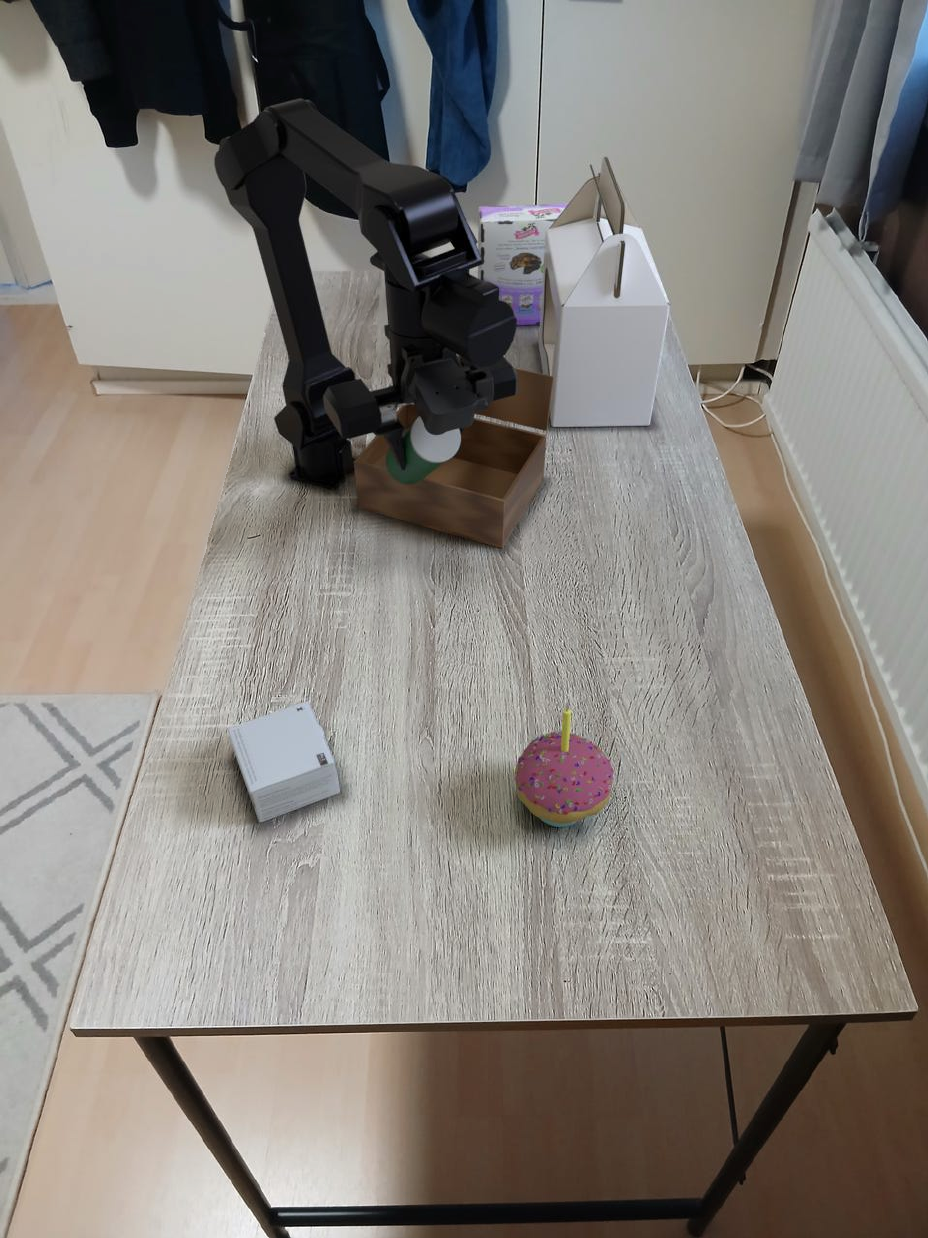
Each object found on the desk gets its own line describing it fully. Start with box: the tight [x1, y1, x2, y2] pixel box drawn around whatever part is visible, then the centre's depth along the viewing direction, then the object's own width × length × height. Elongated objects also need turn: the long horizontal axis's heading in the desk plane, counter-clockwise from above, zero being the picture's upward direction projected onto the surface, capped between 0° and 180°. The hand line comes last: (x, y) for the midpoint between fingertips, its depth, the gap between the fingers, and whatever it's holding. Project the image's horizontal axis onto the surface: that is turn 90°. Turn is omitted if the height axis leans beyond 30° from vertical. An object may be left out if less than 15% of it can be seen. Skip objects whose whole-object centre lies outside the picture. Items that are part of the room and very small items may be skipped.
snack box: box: [353, 403, 548, 549], centre depth 112 cm, size 19×14×7 cm
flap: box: [457, 354, 554, 432], centre depth 111 cm, size 19×7×1 cm
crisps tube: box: [386, 416, 461, 485], centre depth 97 cm, size 5×5×12 cm
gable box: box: [538, 156, 671, 428], centre depth 122 cm, size 22×13×28 cm, turn 1°
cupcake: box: [514, 701, 615, 828], centre depth 79 cm, size 9×8×12 cm
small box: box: [227, 700, 341, 823], centre depth 83 cm, size 8×8×5 cm
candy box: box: [477, 203, 569, 326], centre depth 139 cm, size 14×6×16 cm, turn 93°
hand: (425, 461), depth 97 cm, fingers closed on crisps tube, 5 cm apart
